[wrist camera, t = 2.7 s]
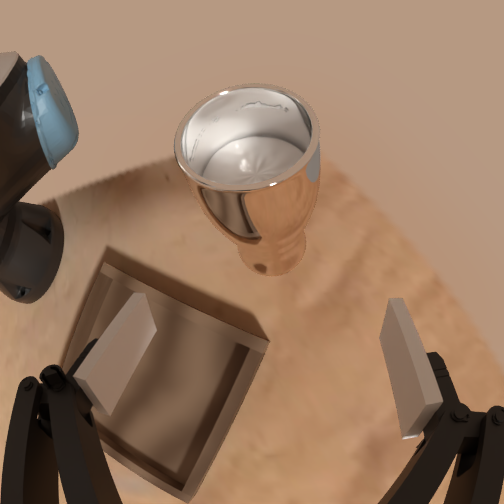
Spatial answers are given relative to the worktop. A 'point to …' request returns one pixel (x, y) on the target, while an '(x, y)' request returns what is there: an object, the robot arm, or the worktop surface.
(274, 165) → the silver metal cup
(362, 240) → the worktop surface
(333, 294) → the worktop surface
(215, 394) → the walnut tray
